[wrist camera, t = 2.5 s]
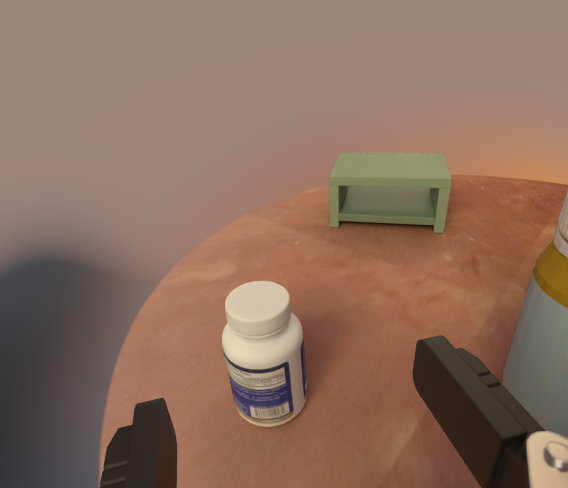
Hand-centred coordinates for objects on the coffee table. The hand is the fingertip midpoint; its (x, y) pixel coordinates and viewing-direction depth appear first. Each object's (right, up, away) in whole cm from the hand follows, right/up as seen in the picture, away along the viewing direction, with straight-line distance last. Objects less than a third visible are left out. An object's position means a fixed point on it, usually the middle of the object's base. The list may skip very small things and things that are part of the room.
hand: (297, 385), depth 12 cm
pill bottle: (-1, -7, +16) cm, 17 cm away
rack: (+14, +9, +41) cm, 44 cm away
